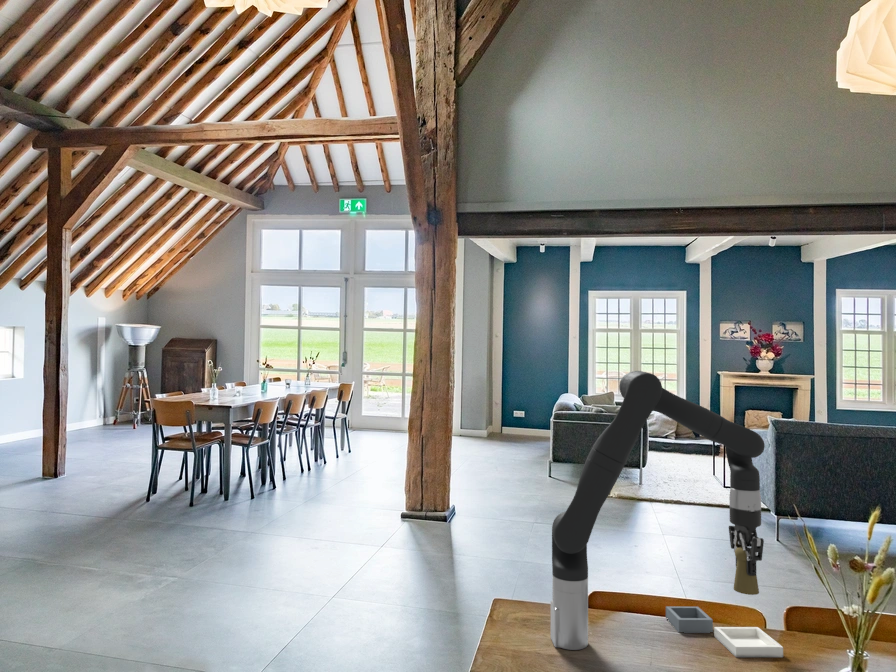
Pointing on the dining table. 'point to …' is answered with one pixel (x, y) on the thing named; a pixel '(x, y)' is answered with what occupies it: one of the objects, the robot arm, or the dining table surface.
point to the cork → (744, 575)
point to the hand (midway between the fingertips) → (745, 571)
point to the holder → (689, 619)
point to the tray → (748, 642)
